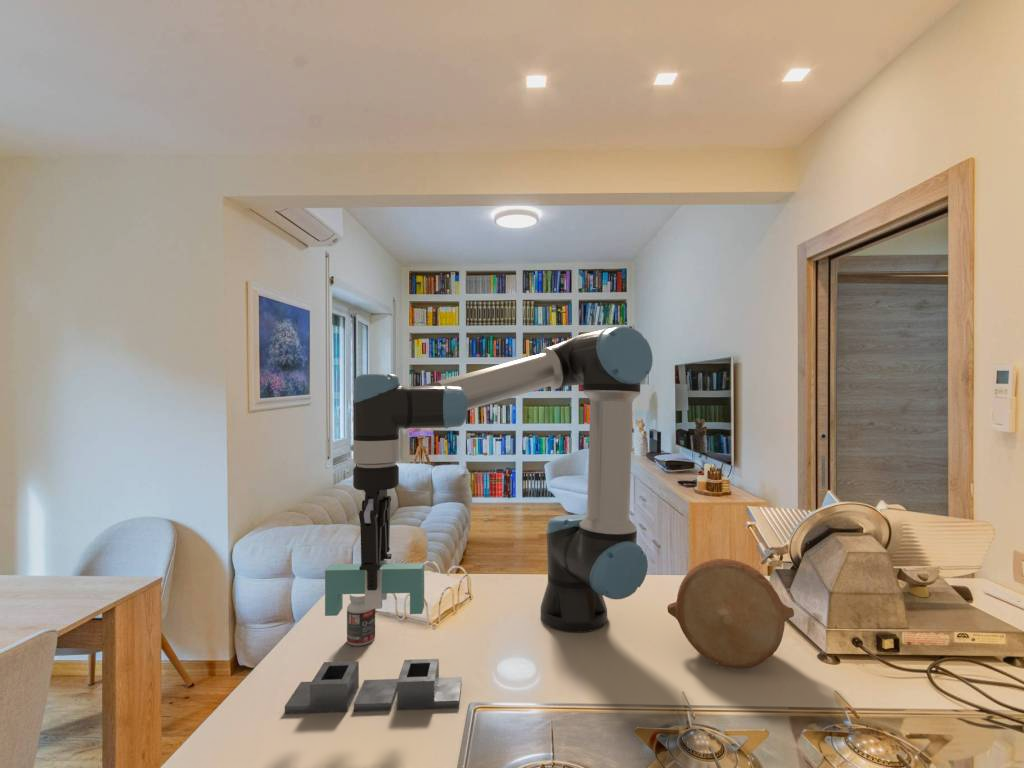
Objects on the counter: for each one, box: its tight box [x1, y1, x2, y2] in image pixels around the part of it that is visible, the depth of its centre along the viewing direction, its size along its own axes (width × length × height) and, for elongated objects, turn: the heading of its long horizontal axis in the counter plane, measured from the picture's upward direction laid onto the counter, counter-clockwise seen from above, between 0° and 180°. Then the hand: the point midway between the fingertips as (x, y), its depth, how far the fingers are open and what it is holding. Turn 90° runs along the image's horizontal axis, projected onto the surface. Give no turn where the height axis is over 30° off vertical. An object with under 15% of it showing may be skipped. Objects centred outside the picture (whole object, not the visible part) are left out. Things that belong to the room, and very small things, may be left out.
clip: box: [324, 562, 425, 617], centre depth 87 cm, size 16×3×8 cm, turn 92°
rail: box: [284, 658, 463, 715], centre depth 87 cm, size 28×7×4 cm, turn 92°
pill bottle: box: [346, 594, 376, 647], centre depth 107 cm, size 6×6×10 cm
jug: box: [667, 558, 795, 669], centre depth 104 cm, size 20×19×30 cm
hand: (376, 603), depth 87 cm, fingers closed on clip, 3 cm apart
